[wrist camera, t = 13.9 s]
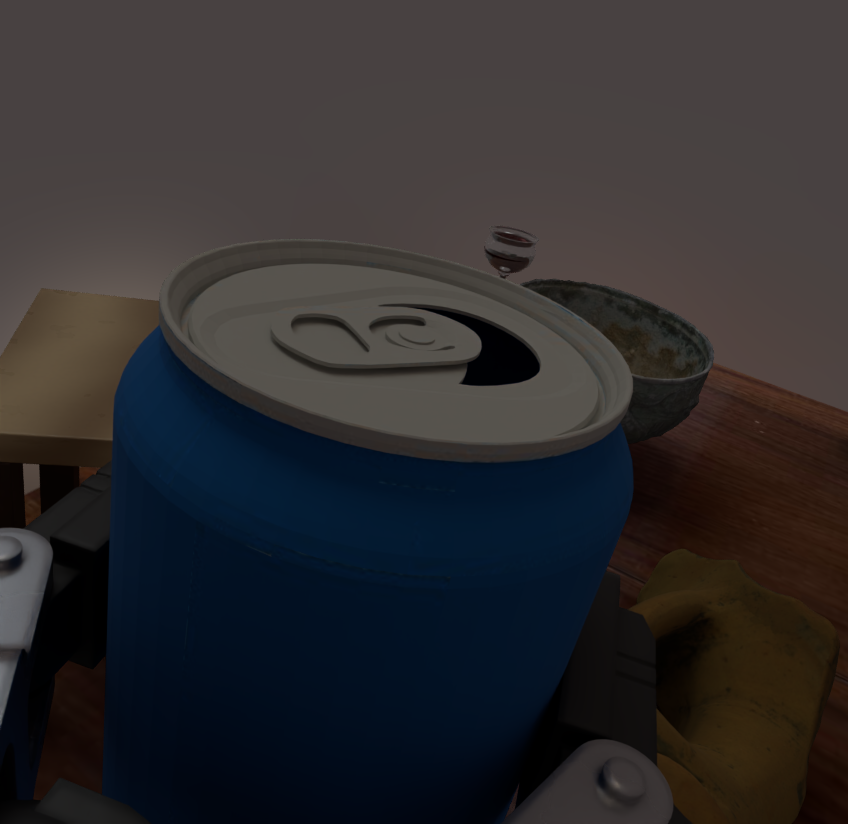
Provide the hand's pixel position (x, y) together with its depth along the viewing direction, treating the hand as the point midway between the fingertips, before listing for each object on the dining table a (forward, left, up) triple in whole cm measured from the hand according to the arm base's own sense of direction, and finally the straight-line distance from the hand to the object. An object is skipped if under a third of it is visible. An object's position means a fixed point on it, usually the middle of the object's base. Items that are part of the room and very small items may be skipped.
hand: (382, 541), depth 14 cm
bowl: (+32, +51, -29) cm, 67 cm away
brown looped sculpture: (+24, +16, -29) cm, 41 cm away
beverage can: (-1, -2, -7) cm, 8 cm away
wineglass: (+33, +86, -29) cm, 96 cm away
